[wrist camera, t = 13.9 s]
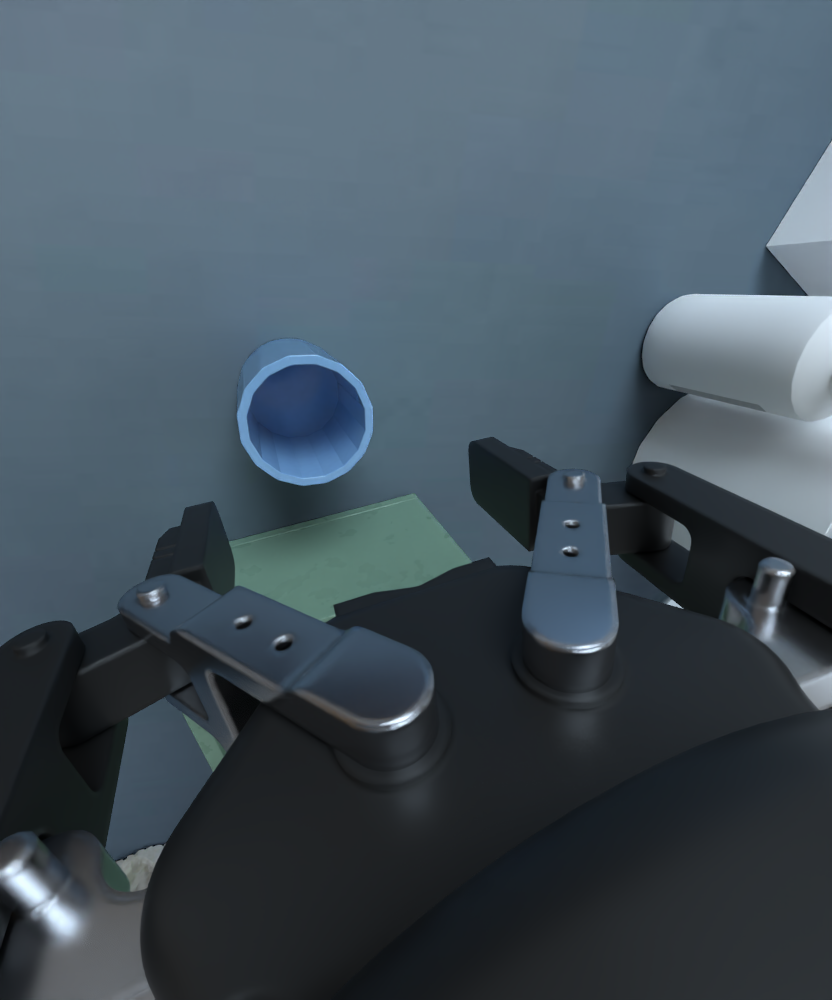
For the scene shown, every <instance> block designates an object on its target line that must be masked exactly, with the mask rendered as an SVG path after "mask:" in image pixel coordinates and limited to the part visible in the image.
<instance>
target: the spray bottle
mask: <svg viewBox="0 0 832 1000" xmlns="http://www.w3.org/2000/svg"><path fill="white" fill-rule="evenodd" d="M642 361H643V368H644V371H645V373H646V375H647V376H648V378H649V379H650V380H651V381H652V382H653V383H654V384H656V385H657V386H658V387H663V388H667V389H671V390H675V391H679V392H684V393H688V394H692V395H696V396H700V397H705V398H709V399H713V400H717V401H721V402H726V403H730V404H734V405H738V406H742V407H746V408H751V409H755V410H759V411H763V412H767V413H772V414H776V415H780V416H784V417H788V418H793V419H797V420H802V421H807V422H813V421H817V420H821V419H825V418H827V417H829V416H831V415H832V296H775V295H716V294H691V295H684V296H681V297H679V298H677V299H675V300H673V301H672V302H670V303H668V304H667V305H666V306H665V307H664V308H663V309H662V310H661V311H660V312H659V313H658V314H657V315H656V317H655V318H654V320H653V322H652V323H651V325H650V326H649V328H648V331H647V334H646V337H645V339H644V343H643V351H642Z"/></svg>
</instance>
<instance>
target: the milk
mask: <svg viewBox="0 0 832 1000" xmlns="http://www.w3.org/2000/svg"><path fill="white" fill-rule="evenodd" d="M766 247H767V248H768V249H769V250H770V252H771V253H772V254H773V255H774V256H775V257H776V259H777V260H778V261H779V262H780V263H781V264H782V266H783V267H784V268H785V269H786V270H787V271H788V273H789V274H790V275H791V276H792V277H793V278H794V280H795V281H796V282H797V283H798V284H799V285H800V287H801V288H802V289H803V290H804V291H805V292H806V294H807V295H808V296H832V141H831V143H830V144H829V146H828V148H827V149H826V151H825V152H824V154H823V156H822V157H821V159H820V160H819V162H818V164H817V165H816V167H815V168H814V170H813V172H812V173H811V175H810V176H809V178H808V180H807V181H806V183H805V184H804V186H803V188H802V189H801V191H800V192H799V194H798V196H797V197H796V199H795V200H794V202H793V204H792V205H791V207H790V208H789V210H788V212H787V213H786V215H785V216H784V218H783V220H782V221H781V223H780V225H779V226H778V228H777V229H776V231H775V233H774V234H773V236H772V237H771V239H770V241H769V242H768V244H767V245H766Z"/></svg>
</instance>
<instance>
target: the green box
mask: <svg viewBox="0 0 832 1000" xmlns="http://www.w3.org/2000/svg"><path fill="white" fill-rule="evenodd" d="M229 544H230V547H231V550H232V553H233V557H234V562H235V586H243V587H245V588H248V589H250V590H252V591H254V592H257V593H259V594H261V595H264V596H266V597H268V598H270V599H273V600H275V601H277V602H279V603H282V604H284V605H286V606H288V607H291V608H293V609H295V610H298V611H300V612H302V613H304V614H307V615H309V616H311V617H313V618H316V619H318V620H320V621H322V622H327V621H329V620H330V619H332V618H334V617H336V615H335V611H334V607H333V605H334V604H337V603H341V602H344V601H347V600H351V599H354V598H357V597H360V596H364V595H367V594H370V593H374V592H380V591H388V590H395V589H403V588H410V587H416V586H420V585H422V584H424V583H426V582H428V581H430V580H431V579H433V578H435V577H437V576H439V575H441V574H443V573H445V572H447V571H449V570H451V569H453V568H455V567H459V566H462V565H465V564H469V563H472V561H471V560H470V559H469V558H468V557H467V555H466V554H465V553H464V552H463V551H462V550H461V548H460V547H459V546H458V545H457V544H456V542H455V541H454V540H453V539H452V538H451V536H450V535H449V534H448V533H447V532H446V531H445V529H444V528H443V527H442V526H441V525H440V523H439V522H438V521H437V520H436V519H435V517H434V516H433V515H432V514H431V513H430V512H429V510H428V509H427V508H426V507H425V506H424V504H423V503H422V502H421V501H420V500H419V499H418V497H417V496H416V495H415V494H414V493H413V494H409V495H406V496H402V497H398V498H394V499H390V500H387V501H383V502H379V503H375V504H371V505H367V506H364V507H360V508H356V509H352V510H348V511H344V512H341V513H337V514H333V515H329V516H325V517H321V518H318V519H314V520H310V521H306V522H302V523H298V524H295V525H291V526H287V527H283V528H279V529H275V530H272V531H268V532H264V533H260V534H256V535H252V536H249V537H245V538H241V539H237V540H233V541H229ZM182 714H183V716H184V718H185V720H186V721H187V723H188V725H189V727H190V729H191V731H192V733H193V735H194V737H195V739H196V741H197V742H198V744H199V746H200V748H201V750H202V752H203V754H204V756H205V758H206V760H207V761H208V763H209V765H210V767H211V769H212V771H213V772H214V770H215V769H216V767H217V766H218V764H219V763H220V761H221V760H222V758H223V757H224V755H225V754H226V751H225V750H224V749H223V747H222V746H221V744H220V743H219V742H218V741H217V740H216V739H215V738H214V737H213V736H212V735H211V734H210V733H208V732H207V731H206V730H205V729H203V728H202V727H201V726H199V725H198V724H197V723H195V722H194V721H193V720H191V719H190V718H189V717H188V716H186V715H185V714H184V713H182Z"/></svg>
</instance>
